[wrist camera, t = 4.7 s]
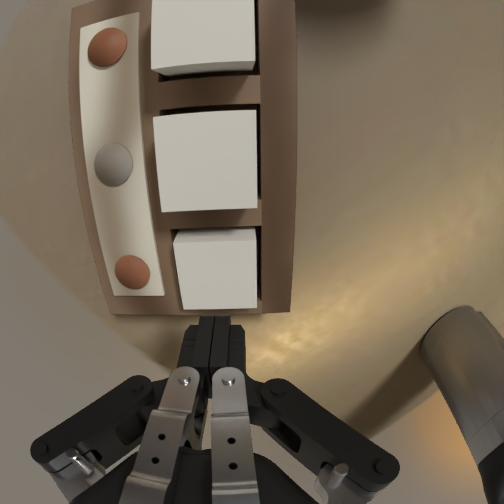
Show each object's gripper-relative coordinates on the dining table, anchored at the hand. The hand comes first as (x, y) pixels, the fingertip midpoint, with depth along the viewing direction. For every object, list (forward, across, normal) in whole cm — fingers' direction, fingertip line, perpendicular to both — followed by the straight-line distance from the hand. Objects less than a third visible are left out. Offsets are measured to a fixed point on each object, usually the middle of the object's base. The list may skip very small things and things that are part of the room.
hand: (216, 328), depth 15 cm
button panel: (+10, +2, -8) cm, 13 cm away
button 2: (+7, 0, -8) cm, 10 cm away
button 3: (+7, 0, -15) cm, 17 cm away
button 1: (+8, 0, 0) cm, 8 cm away
